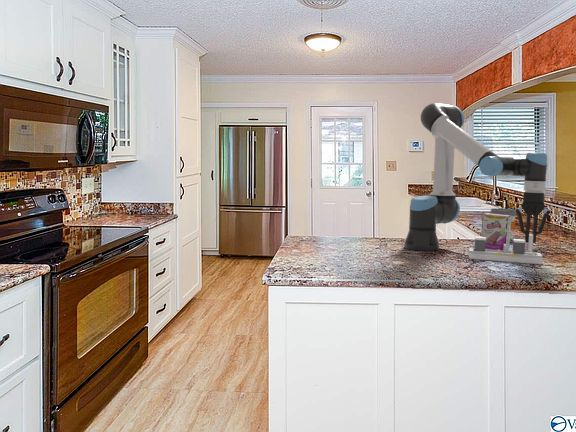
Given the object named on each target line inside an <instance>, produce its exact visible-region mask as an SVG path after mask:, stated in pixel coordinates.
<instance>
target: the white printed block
mask: <svg viewBox="0 0 576 432" xmlns="http://www.w3.org/2000/svg"><path fill="white" fill-rule="evenodd" d="M490 214H500V215H510V216H512V219H511V231H510V240H511V239H512V235H513V230H514V229H515V225H516V216H517V212H516V211H515V209H511V208H490Z"/></svg>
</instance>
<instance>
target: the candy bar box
mask: <svg viewBox="0 0 576 432" xmlns="http://www.w3.org/2000/svg"><path fill="white" fill-rule="evenodd" d="M511 219H512V216H510V215H500V214H490V213H489V212H487V213H482V223H481V235H480V237H486V243H485V249H490V250H503V248H504V244H506V251H510V242H511V239H510V231H511Z"/></svg>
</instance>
